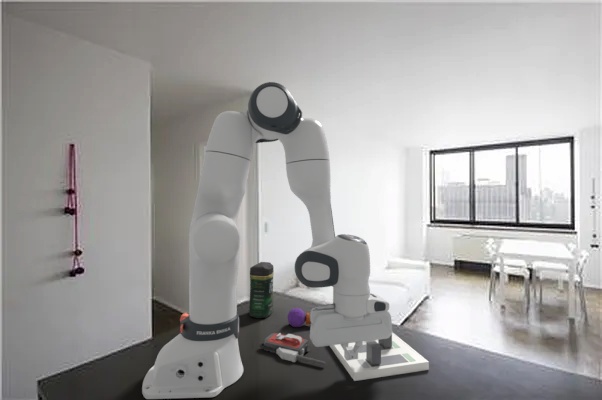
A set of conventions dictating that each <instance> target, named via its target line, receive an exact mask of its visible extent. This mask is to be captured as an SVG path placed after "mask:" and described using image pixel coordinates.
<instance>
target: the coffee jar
mask: <svg viewBox="0 0 602 400" xmlns="http://www.w3.org/2000/svg"><path fill="white" fill-rule="evenodd" d="M274 274H275V273H274V265H273V264H272V263H271V262H270V261H269V262H267V261H260V262H258V263H256V264H254V265H253V266H251V267H250V269H249V310H248V313H249V316H250V317H252V318H255V319H262V318H265V319H266V318H268V317H270V315H272V313H273V312H274Z"/></svg>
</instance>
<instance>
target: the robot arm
mask: <svg viewBox="0 0 602 400" xmlns="http://www.w3.org/2000/svg"><path fill="white" fill-rule="evenodd" d="M247 108H248V109H246V110H244V111H240V112H239V111H235V110H227V111H226V110H225V111H223V112H221V113H219V114H218V115H216V118H215V119H214V121H213V125H212V126H211V130H210V132H209V135H208V139H207V143H206V146H205V152H204V156H203V162H202V165H201V171H200V177H199V180H198V181H199V182H198V187H197V192H196V197H195V202H194V206H193V211H192V216H191V220H190V221H191V222H190V224H189V225H190V226H189V230H188V231H189V232H188V233H189V235H188V240H189V241H188V248H189V250H188V251H189V252H188V259H189V260H188V265H189V267H188V268H189V270H188V271H189V272H188V273H189V274H188V277H189V280H188V281H189V282H188V284H189V286H188V287H189V288H188V291H189V293H188V295H189V297H188V299H189V301H188V302H189V306H188V307H189V308H188V310H189V312H188V313H189V314H188V313H186V312H184V313H182V315H180V318H179V321H180V324H179V334H178V335H176V336H175V337H173V339H170V341H169V342H167V343H166V344H164V345H163V346H162V348H161V349H160V351H158V354H157V357H156V359H155V361H154V365H153V366H152V367H151V368H149V370H148V371H147V373H146V374H145V376H144V378H143V381H142V387H141V394H142V395H143V398H145V399H146V400H163V399H164V400H165V399H167V400H169V399H170V400H171V399H194V398H195V399H199V398H200V399H201V398H203V399H204V398H214V397H217V396H218V395H219V394H220V393H221V392H222V391H223V390H224V389H225V388H227V387H230V386H231V385H233V384H235V383H236V382H237V381H238V380H239V379H241V377H242V375H243V374H244V365H243V363H242V358H241V354H240V347H239V339H238V338H239V334H240V317H239V312H238V311H237V308H238V306H237V305H238V304H237V303H238V301H237V300H238V299H237V296H238V294H237V293H238V290H237V289H238V287H237V285H238V274H239V263H240V252H241V251H240V250H241V233H240V229H239V227H238V225H237V221H238V216H239V213H240V209H241V205H242V202H243V199H244V197H245V194H246V189H247V184H248V178H249V174H250V168H251V163H252V156H253V152H254V149H255V145H256V144H258V143H259V144H260V143H270V142H271V143H272V142H276V141H279V142H280V143H281V145H282V146H283V149H284V154H285V155H284V157H285V169H286V170H285V171H286V177H287V181H288V185H289V188H290V190H291V192H292V194H293V195H294V196H296V197H297V198H298V199H299V200H300V201H301V202H302V203H303V204H304V205H305V207H306V209H307V212H308V215H309V222H310V228H311V230H310V231H311V235H312V236H311V237H312V241H311V242H312V243H311V246H310V247H308V248H307V249H305V250H304V251H302V252H301V253H300V254H299V255H298V256H297V257H296V259H295V262H294V273H295V276H296V278H297V280H298V281H299V282H300V283H301V284H302V285H303V286H305V287H308V288H311V289H315V288H316V289H318V288H327V287H329V288H330V287H332V303H327V304H317V305H315V307H313V308H311V310H310V312H309V313H310V322H311V324H310V328H309V340H310V341H311V343H312V344H313V346H314V347H316V348H319V347H321V348H322V347H328V346H329V345H338V344H340V345H341V347H342V348H343V350H344V358H345V359H346V361H348V360H355V359H358V353H359V351H360V349H361V347H362V346H363V341H370V340H379V339H387V338H389V337H390V336H391V334H392V332H393V323H392V315H391V313H390V312H389V310H390V303H389V302H388V301H387V300H386V299H385V298H383V297H381V296H379V295H378V294H375V293H372V292H371V288H370V284H369V280H370V276H371V256H370V249H369V245H368V243H367V241H366V240H364V238H361V237H359V236H357V235H352V234H345V233H344V234H342V233H341V234H337V235H336V234H335V233H336V232H335V225H334V219H333V217H334V216H333V210H332V202H331V199H332V198H331V197H332V195H331V162H330V154H329V153H330V152H329V147H328V142H327V137H326V134H325V130H324V127H323V125H322V124H321V122H319V120H316V119H313V118H310V117H303V111H302V109H301V108H300V106H299V105H298V103H297V101H296V100H295V99H294V97H293V94H292V93H291V92H290V91H289V90H288V88H287V87H285V86H284V85H282V84H281V83H278V82H275V81H270V82H269V81H268V82H264V83H262V84H260V85H258V86H257V87H256V88H255V89H254V90H253V92H252V93H251V94H250V96H249V99H248V105H247ZM354 342H355V345H354V348H353V349H352V350H347V348H346V347H348V343H354ZM329 347H330V346H329Z"/></svg>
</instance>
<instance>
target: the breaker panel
mask: <svg viewBox="0 0 602 400" xmlns="http://www.w3.org/2000/svg"><path fill="white" fill-rule="evenodd" d="M372 341H376V342H377V343H378V340H370V341H363V346H362V347H361V349H360V351H359V353H358V359H355V360H348V361H346V359H345V358H344V350H343V348H342V347H341V345H340V344H338V345H329V347H330V349H331V350H332V352H333V353H334V354H335V356H336V357H337V359H338V360H339V362H340V363H341V364H342V366H343V367H344V368H345V370H346V372H348V374H349V376H350V377H351V379H353V381H354V382H356V381H363V380H370V379H377V378H381V377H382V378H384V377H389V376H396V375H402V374H403V375H404V374H409V373H417V372H422V371H429V370H430V361H428V359H426V358H425V357H424V356H423V355H421V354H420V353H419V352H418V351H416V350H415V349H414V348H412V347H411V345H409V344H408V343H406V342H405V340H403V339H401V338H400V337H399V336H398V335H397V334H396V333H394V331H392V347H387V348H384V347H382V346H381V345H380V344H379V343H378V344H379V345H380V346H381V364H376V365H371V363H370V362H369V361H368V360H367V359H366V343H367V342H372ZM354 345H355V342H354V343H348V347H346V348H347V350H352V349H353V348H354Z"/></svg>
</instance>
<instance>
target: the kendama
mask: <svg viewBox="0 0 602 400" xmlns="http://www.w3.org/2000/svg"><path fill="white" fill-rule="evenodd" d="M287 321H288V323H289V324H290V326H291V327H294V328H300V327H302V326H303V325H304V324H305V326H308V325H311V322H310V312H306V313H305V311H304V310H302V309H301V308H299V307H298V308H297V307H294V308H292V309H291V310H290V311H289V312H288V314H287Z"/></svg>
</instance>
